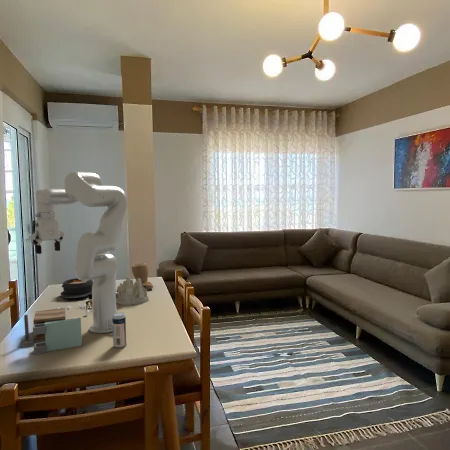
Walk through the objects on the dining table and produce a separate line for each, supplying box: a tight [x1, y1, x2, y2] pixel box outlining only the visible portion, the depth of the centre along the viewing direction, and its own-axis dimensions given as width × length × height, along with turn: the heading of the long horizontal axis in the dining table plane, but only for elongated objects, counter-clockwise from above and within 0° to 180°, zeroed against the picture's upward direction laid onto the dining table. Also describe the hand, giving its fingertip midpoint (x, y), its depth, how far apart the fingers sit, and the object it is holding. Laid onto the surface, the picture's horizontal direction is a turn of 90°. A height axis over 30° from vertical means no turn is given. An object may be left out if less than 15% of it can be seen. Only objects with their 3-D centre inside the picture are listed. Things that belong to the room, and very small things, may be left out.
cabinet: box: [19, 307, 67, 348], centre depth 143 cm, size 17×16×12 cm
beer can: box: [112, 312, 127, 349], centre depth 133 cm, size 5×5×12 cm
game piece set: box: [56, 301, 93, 319], centre depth 171 cm, size 19×20×4 cm
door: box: [32, 317, 83, 355], centre depth 131 cm, size 4×16×10 cm, turn 114°
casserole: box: [60, 277, 94, 299], centre depth 203 cm, size 25×19×8 cm
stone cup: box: [131, 262, 154, 291], centre depth 217 cm, size 15×12×15 cm
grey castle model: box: [116, 275, 150, 306], centre depth 191 cm, size 16×16×15 cm
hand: (48, 252), depth 169 cm, fingers open, 9 cm apart
